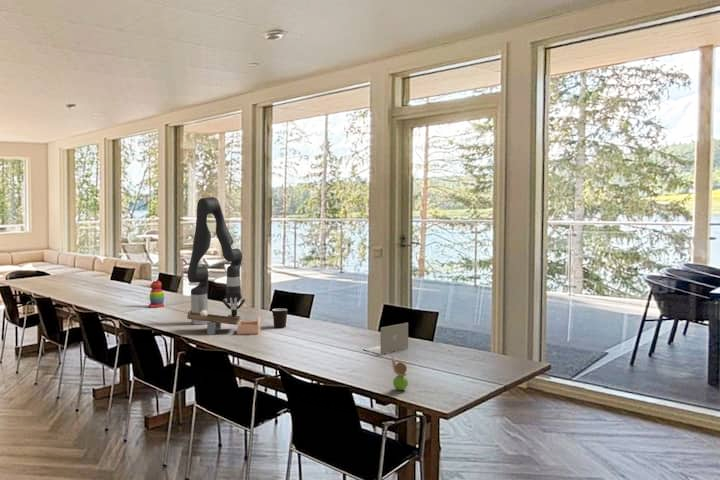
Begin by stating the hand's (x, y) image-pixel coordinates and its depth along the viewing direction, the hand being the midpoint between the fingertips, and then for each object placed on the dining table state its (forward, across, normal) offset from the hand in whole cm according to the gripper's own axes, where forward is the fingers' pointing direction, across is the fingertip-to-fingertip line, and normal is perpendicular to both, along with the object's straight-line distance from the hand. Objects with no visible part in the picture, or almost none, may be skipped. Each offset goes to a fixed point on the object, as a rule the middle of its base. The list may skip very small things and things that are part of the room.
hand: (234, 316), depth 320 cm
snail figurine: (+10, -78, +110) cm, 136 cm away
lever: (+1, +10, +4) cm, 11 cm away
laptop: (+9, -79, +48) cm, 93 cm away
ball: (-3, +15, +7) cm, 17 cm away
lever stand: (+7, +10, +4) cm, 13 cm away
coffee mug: (+8, -25, -7) cm, 27 cm away
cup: (+8, -9, +7) cm, 14 cm away
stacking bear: (+6, +66, -79) cm, 103 cm away
